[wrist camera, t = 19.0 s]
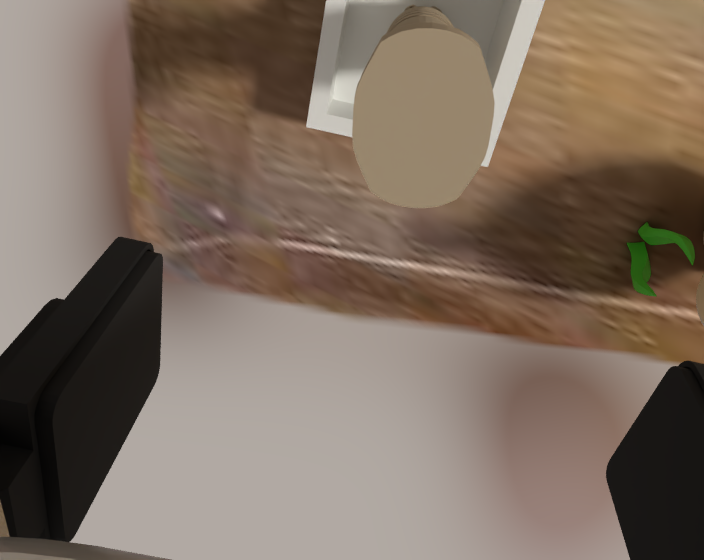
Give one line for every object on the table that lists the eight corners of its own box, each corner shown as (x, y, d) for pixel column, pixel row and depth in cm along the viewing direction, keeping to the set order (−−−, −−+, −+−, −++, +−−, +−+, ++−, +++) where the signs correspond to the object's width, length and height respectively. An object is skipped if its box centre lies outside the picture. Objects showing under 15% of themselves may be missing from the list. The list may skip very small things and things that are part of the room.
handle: (372, 89, 36) (348, 202, 24) (380, -34, 33) (357, 23, 20) (456, 95, 36) (476, 213, 23) (473, -28, 32) (508, 33, 20)
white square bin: (349, -100, 32) (335, -95, 27) (538, -56, 32) (559, -43, 27) (315, 107, 38) (298, 143, 33) (474, 143, 38) (481, 184, 33)
